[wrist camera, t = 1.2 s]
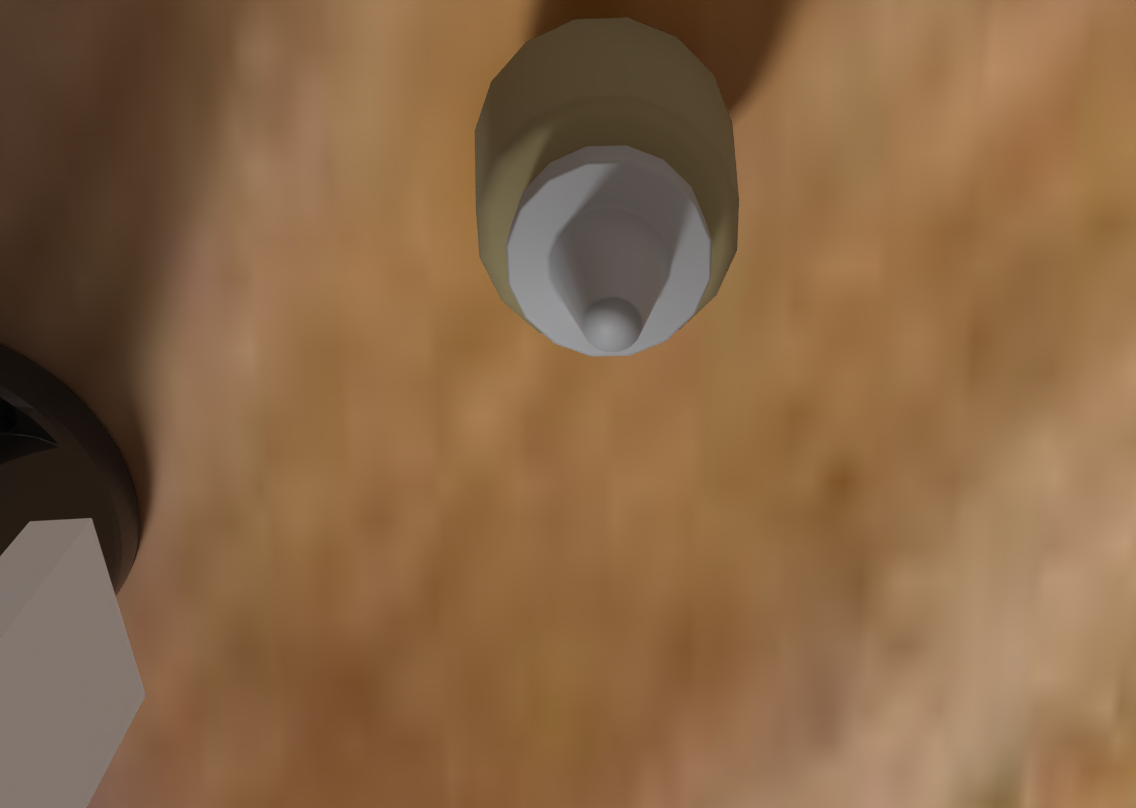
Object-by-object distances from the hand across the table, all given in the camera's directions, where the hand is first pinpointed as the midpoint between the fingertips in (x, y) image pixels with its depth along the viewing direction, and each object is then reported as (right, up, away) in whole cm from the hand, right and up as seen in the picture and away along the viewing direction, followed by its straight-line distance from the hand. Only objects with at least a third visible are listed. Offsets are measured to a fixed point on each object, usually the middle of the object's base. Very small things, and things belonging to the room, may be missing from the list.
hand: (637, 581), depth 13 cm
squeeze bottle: (0, +12, +24) cm, 27 cm away
